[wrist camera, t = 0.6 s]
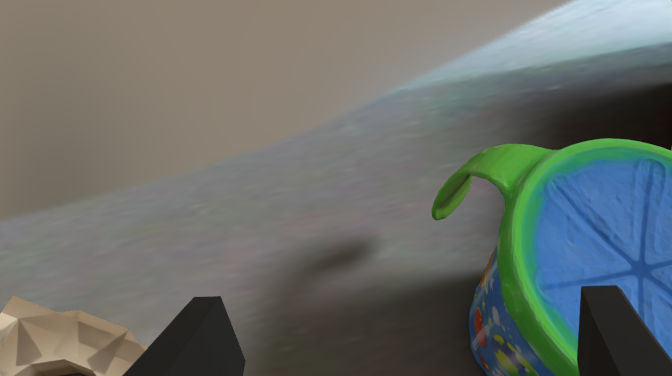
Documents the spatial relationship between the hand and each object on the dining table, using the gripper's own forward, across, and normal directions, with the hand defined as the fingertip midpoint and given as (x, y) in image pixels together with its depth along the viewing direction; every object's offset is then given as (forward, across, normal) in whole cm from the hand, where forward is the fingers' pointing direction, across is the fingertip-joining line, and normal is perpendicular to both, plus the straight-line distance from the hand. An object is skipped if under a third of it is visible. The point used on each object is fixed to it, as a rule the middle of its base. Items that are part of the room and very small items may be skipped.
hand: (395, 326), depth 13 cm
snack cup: (+13, -4, +15) cm, 21 cm away
